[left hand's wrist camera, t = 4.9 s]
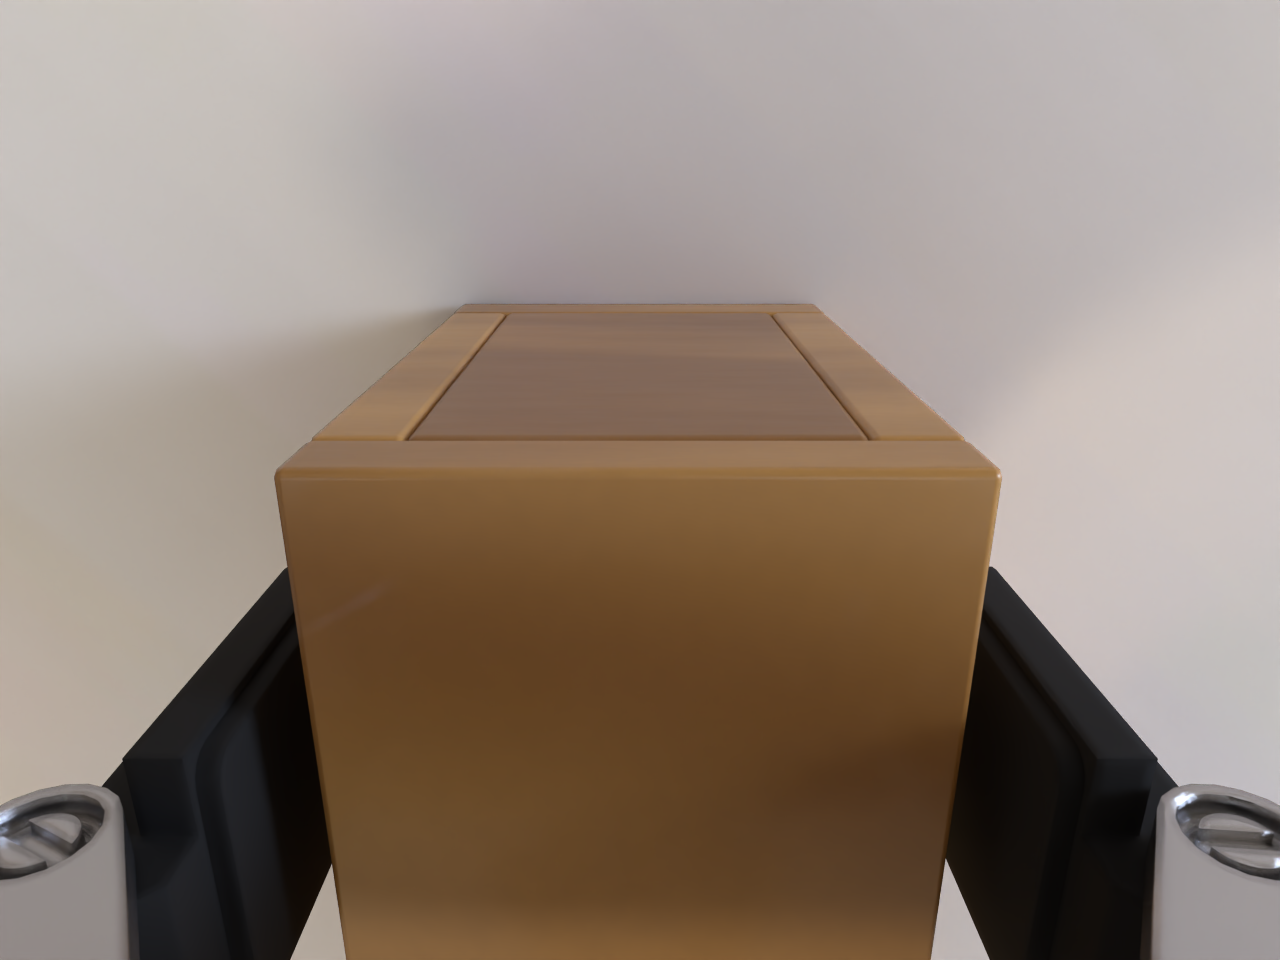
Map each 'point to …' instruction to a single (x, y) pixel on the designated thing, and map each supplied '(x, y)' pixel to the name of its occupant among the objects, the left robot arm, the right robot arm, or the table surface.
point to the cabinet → (638, 638)
